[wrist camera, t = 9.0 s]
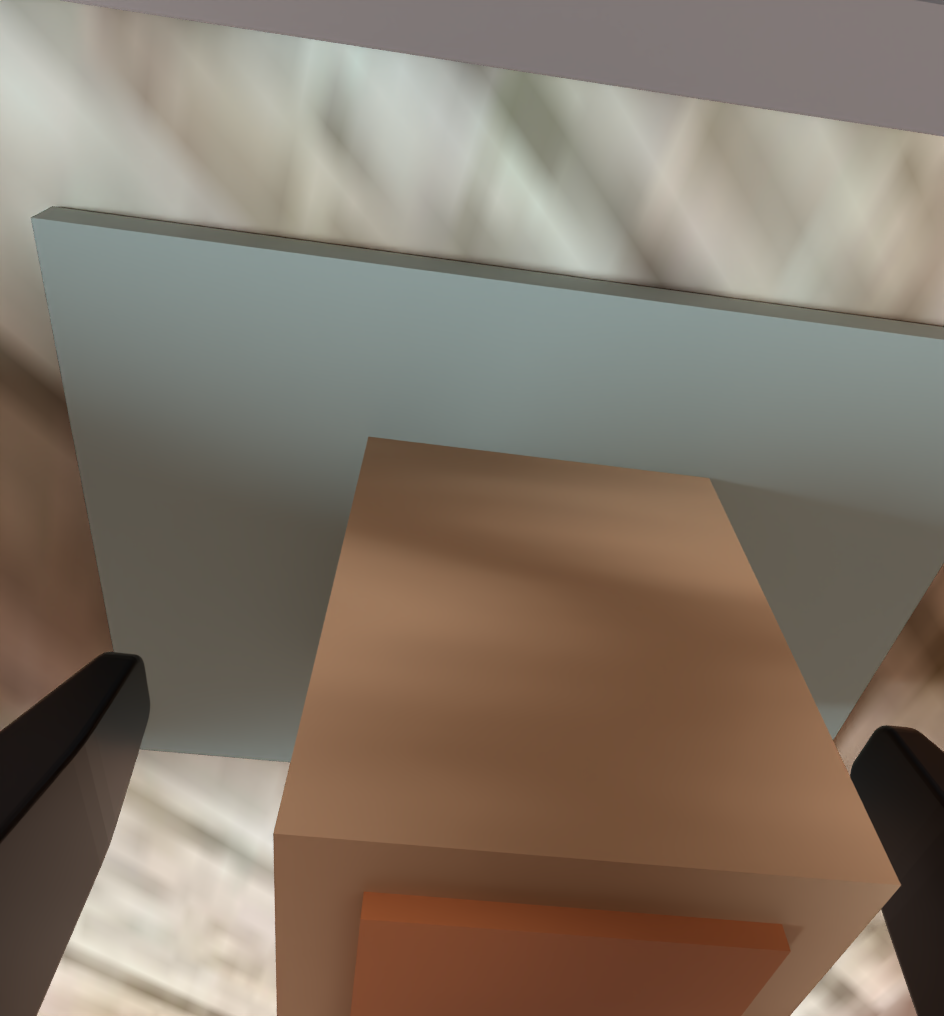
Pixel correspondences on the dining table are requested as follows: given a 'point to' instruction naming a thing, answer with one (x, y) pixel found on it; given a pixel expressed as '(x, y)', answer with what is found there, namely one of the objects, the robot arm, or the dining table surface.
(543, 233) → the dining table surface
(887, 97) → the parts bin
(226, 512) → the mat
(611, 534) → the labelled block
